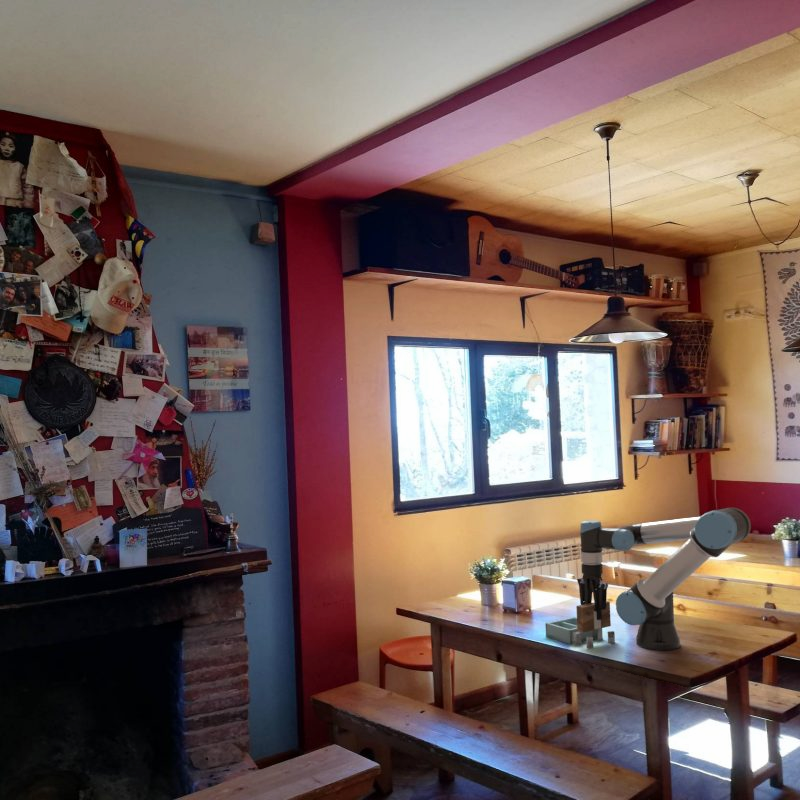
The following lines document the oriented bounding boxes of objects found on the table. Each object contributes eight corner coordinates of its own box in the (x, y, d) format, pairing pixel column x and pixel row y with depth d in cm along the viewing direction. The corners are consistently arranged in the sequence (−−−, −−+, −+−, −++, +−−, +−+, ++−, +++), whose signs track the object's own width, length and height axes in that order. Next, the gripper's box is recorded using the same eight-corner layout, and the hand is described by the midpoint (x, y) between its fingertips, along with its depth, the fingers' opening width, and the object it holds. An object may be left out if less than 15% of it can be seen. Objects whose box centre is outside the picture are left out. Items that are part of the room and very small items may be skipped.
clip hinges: (614, 642, 291) (614, 631, 291) (588, 648, 284) (588, 637, 284) (597, 637, 298) (597, 626, 298) (571, 643, 291) (571, 632, 291)
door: (612, 626, 292) (611, 602, 293) (585, 633, 285) (584, 607, 285) (604, 624, 296) (603, 600, 296) (577, 630, 288) (576, 605, 288)
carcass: (599, 637, 298) (598, 623, 299) (570, 643, 290) (569, 630, 291) (574, 629, 309) (574, 617, 310) (545, 636, 301) (545, 623, 302)
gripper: (615, 564, 286) (617, 630, 286) (583, 558, 300) (585, 621, 299) (600, 567, 282) (602, 633, 282) (568, 561, 296) (570, 624, 295)
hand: (593, 627), depth 291 cm, fingers closed on door, 3 cm apart
